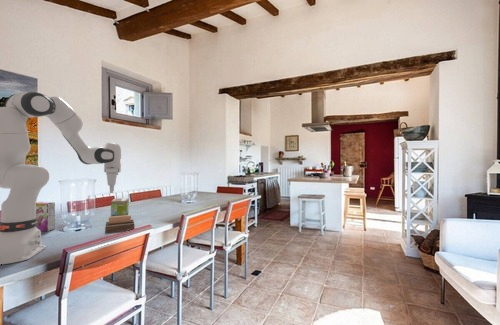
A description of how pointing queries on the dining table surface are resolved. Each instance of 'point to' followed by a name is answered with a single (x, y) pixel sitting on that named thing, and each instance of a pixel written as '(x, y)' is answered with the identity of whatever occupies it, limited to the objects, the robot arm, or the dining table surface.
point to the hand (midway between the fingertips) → (111, 192)
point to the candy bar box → (45, 215)
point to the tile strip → (120, 219)
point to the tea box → (119, 207)
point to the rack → (119, 226)
